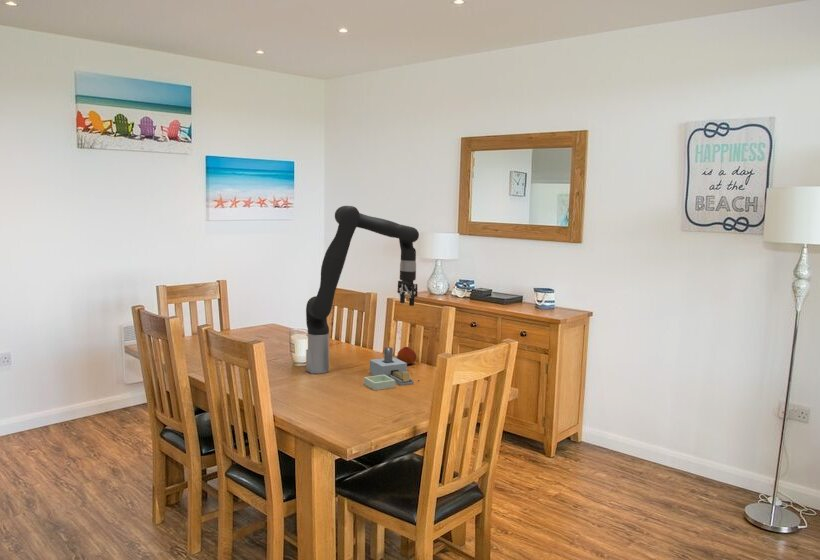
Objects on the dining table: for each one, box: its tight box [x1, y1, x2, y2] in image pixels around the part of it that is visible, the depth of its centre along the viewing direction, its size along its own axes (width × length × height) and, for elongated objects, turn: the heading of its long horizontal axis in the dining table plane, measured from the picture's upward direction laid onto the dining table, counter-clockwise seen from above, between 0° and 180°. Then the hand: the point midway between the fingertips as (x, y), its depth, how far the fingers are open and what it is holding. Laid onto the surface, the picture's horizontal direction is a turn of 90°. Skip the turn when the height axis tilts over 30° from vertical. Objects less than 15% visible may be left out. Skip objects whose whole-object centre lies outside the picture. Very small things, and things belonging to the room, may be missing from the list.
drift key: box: [392, 370, 410, 382], centre depth 273 cm, size 9×3×4 cm, turn 30°
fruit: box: [396, 346, 417, 365], centre depth 302 cm, size 9×9×8 cm
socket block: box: [369, 356, 415, 387], centre depth 278 cm, size 23×12×6 cm, turn 30°
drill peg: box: [383, 346, 394, 375], centre depth 283 cm, size 4×4×12 cm
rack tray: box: [363, 375, 396, 391], centre depth 267 cm, size 10×10×3 cm
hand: (406, 304), depth 302 cm, fingers open, 8 cm apart
